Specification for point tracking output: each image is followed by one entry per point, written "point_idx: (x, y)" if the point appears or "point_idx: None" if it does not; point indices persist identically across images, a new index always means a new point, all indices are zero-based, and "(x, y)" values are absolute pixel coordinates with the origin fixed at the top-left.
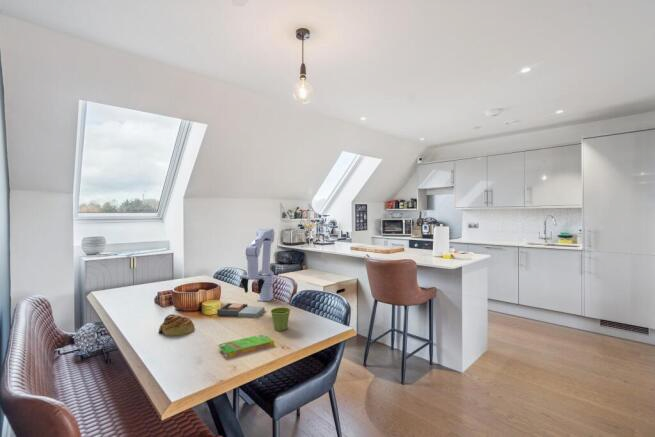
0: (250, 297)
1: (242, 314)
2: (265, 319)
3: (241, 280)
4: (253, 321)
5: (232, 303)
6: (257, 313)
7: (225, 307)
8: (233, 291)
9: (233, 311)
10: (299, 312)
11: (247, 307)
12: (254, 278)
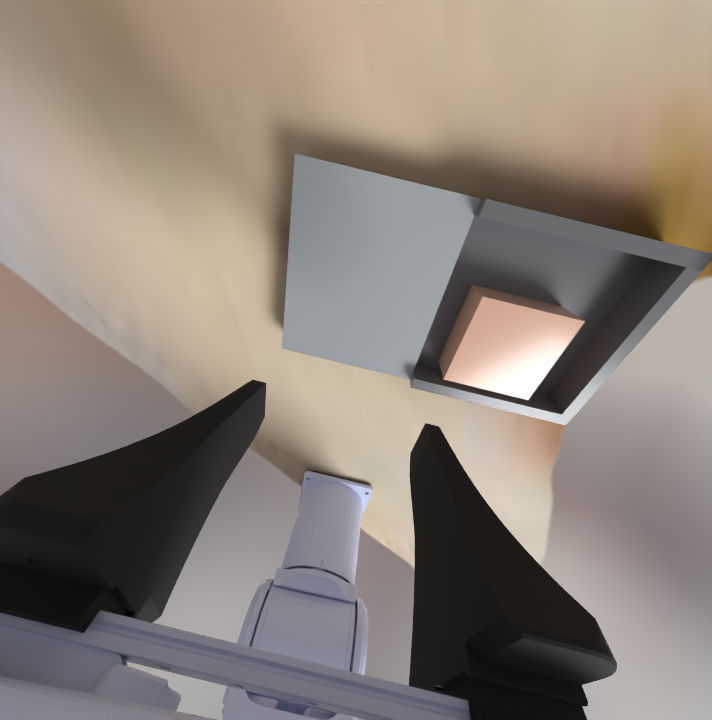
0: None
1: (434, 187)
2: (211, 97)
3: (588, 678)
4: (304, 17)
5: (529, 415)
6: (294, 189)
7: (588, 363)
8: None
9: (533, 211)
10: (54, 277)
11: (405, 346)
12: (117, 709)
